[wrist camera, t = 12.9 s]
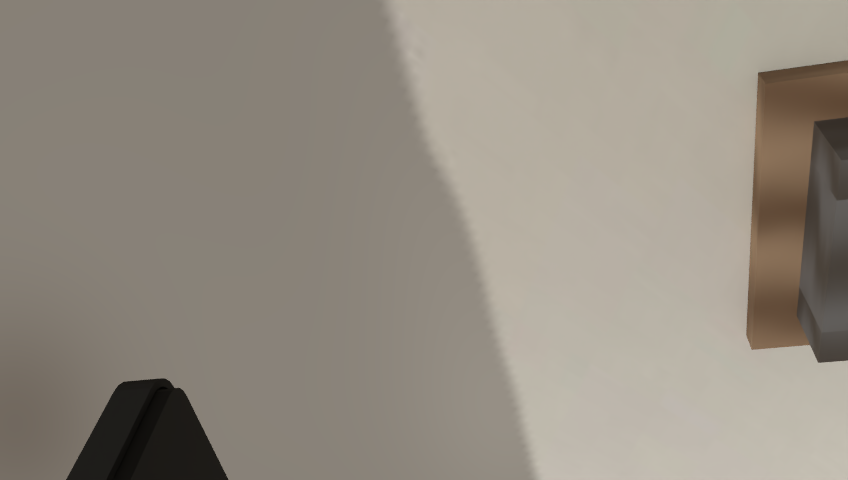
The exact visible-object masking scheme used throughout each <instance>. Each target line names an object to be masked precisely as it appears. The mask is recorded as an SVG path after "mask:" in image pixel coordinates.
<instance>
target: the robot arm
mask: <svg viewBox="0 0 848 480" xmlns="http://www.w3.org/2000/svg"><path fill="white" fill-rule="evenodd" d="M66 480H228V478H227V476H226V474H225V472H224V470H223V468H222V466H221V464H220V462H219V460H218V458H217V456H216V454H215V452H214V450H213V448H212V446H211V444H210V442H209V440H208V438H207V436H206V434H205V432H204V430H203V428H202V426H201V424H200V422H199V420H198V418H197V416H196V414H195V412H194V410H193V408H192V406H191V404H190V402H189V400H188V398H187V396H186V394H185V393H184V391H183V390H182V389H180V388H174V387H173V385H172V384H171V382H170V381H168V380H167V379H150V380H140V381H128V382H123V383H121V384H120V385H118V387H117V388H116V389H115V391H114V393H113V394H112V396H111V398H110V400H109V402H108V404H107V405H106V407H105V409H104V411H103V413H102V415H101V416H100V418H99V420H98V422H97V424H96V426H95V428H94V430H93V431H92V433H91V435H90V437H89V439H88V441H87V442H86V444H85V446H84V448H83V450H82V452H81V454H80V455H79V457H78V459H77V461H76V463H75V465H74V466H73V468H72V470H71V472H70V474H69V476H68V478H67V479H66Z"/></svg>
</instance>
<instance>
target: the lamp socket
mask: <svg viewBox="0 0 848 480" xmlns="http://www.w3.org/2000/svg"><path fill="white" fill-rule="evenodd" d="M746 335H747V338H748V341H749V343H750V346H751V349H752V350H753V349H765V348H777V347H789V346H802V345H810V346H811V348H812V350H813V352H814V354H815V356H816V359H817V361H818V363H821V362H833V361H846V360H848V61H840V62H833V63H826V64H819V65H812V66H804V67H797V68H790V69H783V70H776V71H768V72H761V73H758V91H757V113H756V135H755V157H754V179H753V201H752V224H751V246H750V268H749V290H748V312H747V334H746Z"/></svg>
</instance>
